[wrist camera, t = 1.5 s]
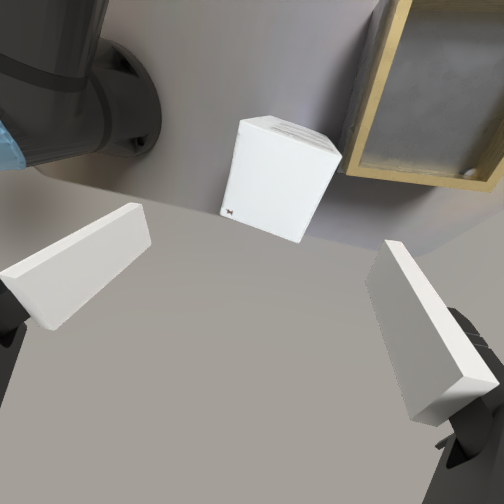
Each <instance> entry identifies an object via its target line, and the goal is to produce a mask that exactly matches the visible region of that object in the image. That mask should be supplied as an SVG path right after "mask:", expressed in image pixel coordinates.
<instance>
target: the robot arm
mask: <svg viewBox="0 0 504 504" xmlns="http://www.w3.org/2000/svg"><path fill="white" fill-rule="evenodd" d="M108 3H109V0H0V171H3V170H11V169H15V170H22V169H24V168H25V167H30V166H35V165H39V164H43V163H48V162H52V161H57V160H61V159H65V158H70V157H74V156H79V155H83V154H88V153H92V152H98V153H103V154H108V155H113V156H119V157H132V156H136V155H139V154H143V153H145V152H147V151H148V150H149V149H151V148H152V146H153V145H154V144H155V142H156V141H157V139H158V136H159V133H160V129H161V107H160V102H159V98H158V94H157V91H156V89H155V86H154V84H153V82H152V80H151V78H150V76H149V74H148V73H147V71H146V69H145V68H144V67H143V65H142V64H141V63H140V61H139V60H138V59H137V58H136V57H135V56H134V55H133V54H132V53H131V52H130V51H128V50H127V49H126V48H124V47H123V46H121V45H119V44H117V43H115V42H113V41H110V40H107V39H104V38H101V37H100V33H101V29H102V25H103V21H104V17H105V13H106V10H107V6H108ZM151 245H152V244H151V239H150V235H149V231H148V227H147V223H146V219H145V215H144V211H143V207H142V204H137V203H128V204H126V205H124V206H122V207H121V208H119V209H117V210H115V211H113V212H111V213H109V214H108V215H106V216H104V217H102V218H100V219H98V220H96V221H95V222H93V223H91V224H89V225H87V226H85V227H83V228H82V229H80V230H78V231H76V232H74V233H72V234H70V235H69V236H67V237H65V238H63V239H61V240H60V241H57V242H56V243H54V244H52V245H50V246H48V247H47V248H44V249H43V250H41V251H39V252H37V253H35V254H33V255H32V256H30V257H28V258H26V259H24V260H22V261H20V262H19V263H17V264H15V265H13V266H11V267H9V268H7V269H6V270H4V271H2V272H0V407H1V404H2V401H3V398H4V395H5V392H6V389H7V386H8V383H9V380H10V378H11V375H12V371H13V369H14V366H15V363H16V360H17V357H18V354H19V351H20V348H21V345H22V342H23V339H24V336H25V333H26V331H27V326H26V324H25V323H24V321H26V320H27V319H28V318H30V317H31V318H32V319H33V320H34V322H35V323H36V324H37V325H38V327H42V328H46V329H50V330H56V329H57V328H58V327H59V326H60V325H61V324H63V323H64V322H65V321H66V320H67V319H68V318H69V317H70V316H72V315H73V314H74V313H75V312H76V311H77V310H78V309H80V308H81V307H82V306H83V305H84V304H85V303H86V302H87V301H89V300H90V299H91V298H92V297H93V296H94V295H95V294H96V293H98V292H99V291H100V290H101V289H102V288H103V287H104V286H106V284H108V283H109V282H110V281H111V280H112V279H113V278H115V276H117V275H118V274H119V273H120V272H121V271H122V270H124V269H125V268H126V267H127V266H128V265H129V264H130V263H131V262H133V261H134V260H135V259H136V258H137V257H138V256H139V255H140V254H142V253H143V252H144V251H145V250H146V249H147V248H148V247H150V246H151ZM365 284H366V287H367V290H368V293H369V296H370V299H371V302H372V305H373V308H374V311H375V314H376V317H377V320H378V323H379V326H380V329H381V332H382V335H383V338H384V341H385V344H386V348H387V351H388V354H389V356H390V360H391V363H392V366H393V369H394V372H395V375H396V378H397V381H398V384H399V387H400V390H401V393H402V396H403V399H404V402H405V405H406V408H407V411H408V414H409V417H410V420H412V421H416V422H420V423H424V424H428V425H432V426H436V427H438V426H439V425H440V424H442V423H443V422H445V421H446V420H448V419H449V421H450V423H451V425H452V428H453V429H454V433H453V434H451V435H450V436H448V437H446V438H445V439H443V440H441V441H440V442H438V443H437V444H436V445H435V447H436V448H437V449H439V450H440V449H441V448H443V447H445V448H444V451H443V453H442V456H441V458H440V460H439V463H438V466H437V468H436V471H435V473H434V475H433V478H432V480H431V483H430V485H429V488H428V490H427V493H426V495H425V498H424V500H423V502H422V504H504V366H503V364H502V363H501V362H500V360H499V359H498V358H497V356H496V355H495V354H494V352H493V351H492V350H491V349H489V348H488V345H487V343H486V342H485V340H484V339H483V338H482V337H480V334H479V333H478V331H477V330H476V329H475V327H474V326H473V325H472V323H471V322H470V321H469V320H468V319H467V318H466V317H464V316H463V315H462V314H461V313H460V312H458V311H457V310H456V309H454V308H448V307H446V306H445V304H444V303H443V302H442V300H441V299H440V297H439V296H438V294H437V293H436V291H435V290H434V289H433V287H432V286H431V284H430V283H429V282H428V280H427V278H426V277H425V275H424V274H423V273H422V271H421V270H420V268H419V267H418V266H417V264H416V263H415V261H414V260H413V258H412V257H411V255H410V254H409V252H408V251H407V250H406V248H405V247H404V245H403V244H402V242H398V241H391V240H384V242H383V244H382V246H381V248H380V250H379V252H378V254H377V257H376V259H375V261H374V263H373V265H372V267H371V269H370V272H369V274H368V276H367V278H366V280H365Z"/></svg>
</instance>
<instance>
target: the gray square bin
mask: <svg viewBox="0 0 504 504" xmlns="http://www.w3.org/2000/svg"><path fill="white" fill-rule="evenodd" d="M337 150H338V151H339V153H340V154H341V155H342V159H341V160H340V162H339V164H338V166H337V168H336V171H337V173H345V175H350V176H358V177H366V178H374V179H383V180H391V181H399V182H407V183H415V184H424V185H432V186H440V187H448V188H456V189H464V190H473V191H481V192H489V193H491V192H492V190H493V189H494V187H495V186H496V184H497V183H498V182H499V180H500V179H501V177H502V176H503V175H504V0H380V1H379V2H378V4H377V5H376V7H375V8H374V10H373V14H372V18H371V21H370V25H369V29H368V33H367V36H366V40H365V44H364V48H363V51H362V55H361V59H360V63H359V67H358V70H357V74H356V78H355V82H354V85H353V89H352V93H351V97H350V101H349V104H348V108H347V112H346V116H345V119H344V123H343V127H342V131H341V135H340V138H339V142H338V146H337Z"/></svg>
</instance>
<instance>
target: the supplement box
mask: <svg viewBox="0 0 504 504" xmlns="http://www.w3.org/2000/svg"><path fill="white" fill-rule="evenodd" d="M341 159H342V155H341V154H340V153H339V151H338V150H337V149H336V148H335V146H334V145H333V144H332V142H331V141H330V140H329V138H328V137H327V136H326V135H324V134H321V133H319V132H316V131H314V130H311V129H308V128H305V127H302V126H300V125H297V124H294V123H291V122H288V121H285V120H282V119H279V118H276V117H273V116H263V117H256V118H250V119H244V120H240V122H239V128H238V133H237V139H236V144H235V149H234V154H233V159H232V164H231V169H230V173H229V178H228V182H227V187H226V191H225V195H224V199H223V203H222V207H221V211H220V215H222V216H224V217H227V218H230V219H232V220H235V221H238V222H241V223H244V224H246V225H249V226H252V227H255V228H257V229H260V230H263V231H265V232H268V233H271V234H274V235H276V236H279V237H282V238H284V239H287V240H290V241H293V242H296V243H300V241H301V239H302V236H303V235H304V233H305V231H306V229H307V226H308V224H309V222H310V220H311V218H312V216H313V214H314V212H315V210H316V208H317V206H318V204H319V202H320V200H321V198H322V196H323V194H324V192H325V190H326V188H327V186H328V184H329V182H330V180H331V178H332V176H333V174H334V172H335V170H336V168H337V166H338V164H339V162H340V160H341Z"/></svg>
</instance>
